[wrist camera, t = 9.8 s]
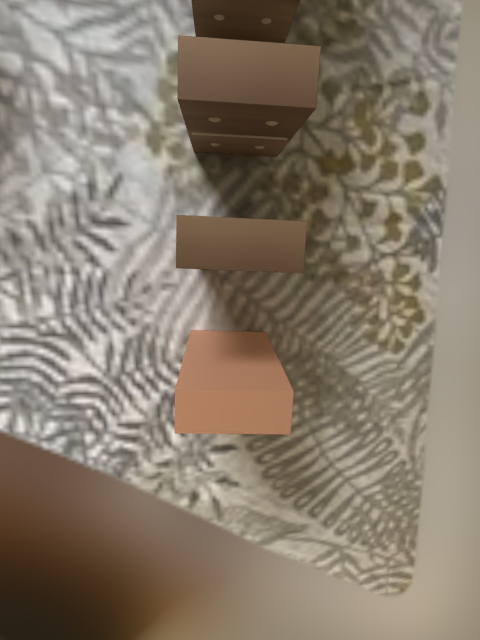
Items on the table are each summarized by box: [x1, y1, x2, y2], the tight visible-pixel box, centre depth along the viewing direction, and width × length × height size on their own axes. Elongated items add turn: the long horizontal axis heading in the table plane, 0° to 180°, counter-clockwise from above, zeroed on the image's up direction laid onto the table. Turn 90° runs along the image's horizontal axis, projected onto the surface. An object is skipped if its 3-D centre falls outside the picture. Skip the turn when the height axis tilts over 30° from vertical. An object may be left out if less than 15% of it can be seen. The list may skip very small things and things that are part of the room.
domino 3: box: [176, 215, 307, 273], centre depth 20 cm, size 2×5×10 cm, turn 88°
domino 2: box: [178, 35, 321, 157], centre depth 19 cm, size 2×5×10 cm, turn 88°
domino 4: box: [175, 330, 294, 434], centre depth 22 cm, size 2×5×10 cm, turn 88°
